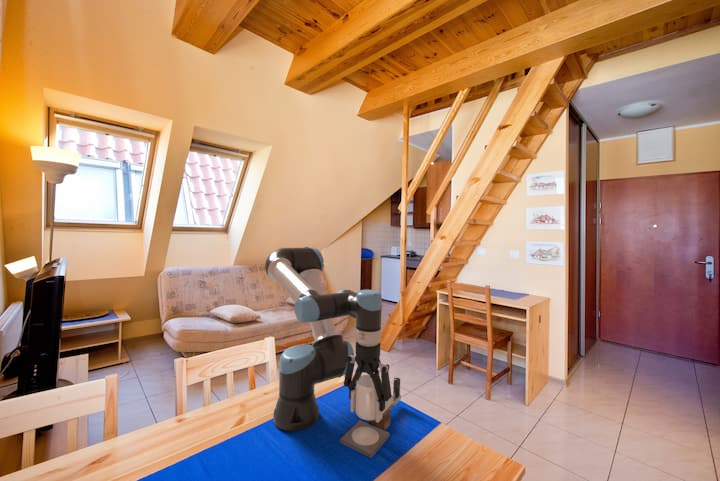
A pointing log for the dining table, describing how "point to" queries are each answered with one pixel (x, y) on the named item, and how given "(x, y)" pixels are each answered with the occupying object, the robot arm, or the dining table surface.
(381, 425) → the mount
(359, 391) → the mug
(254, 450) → the dining table surface
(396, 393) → the crank handle
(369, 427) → the dock pad
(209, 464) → the dining table surface
